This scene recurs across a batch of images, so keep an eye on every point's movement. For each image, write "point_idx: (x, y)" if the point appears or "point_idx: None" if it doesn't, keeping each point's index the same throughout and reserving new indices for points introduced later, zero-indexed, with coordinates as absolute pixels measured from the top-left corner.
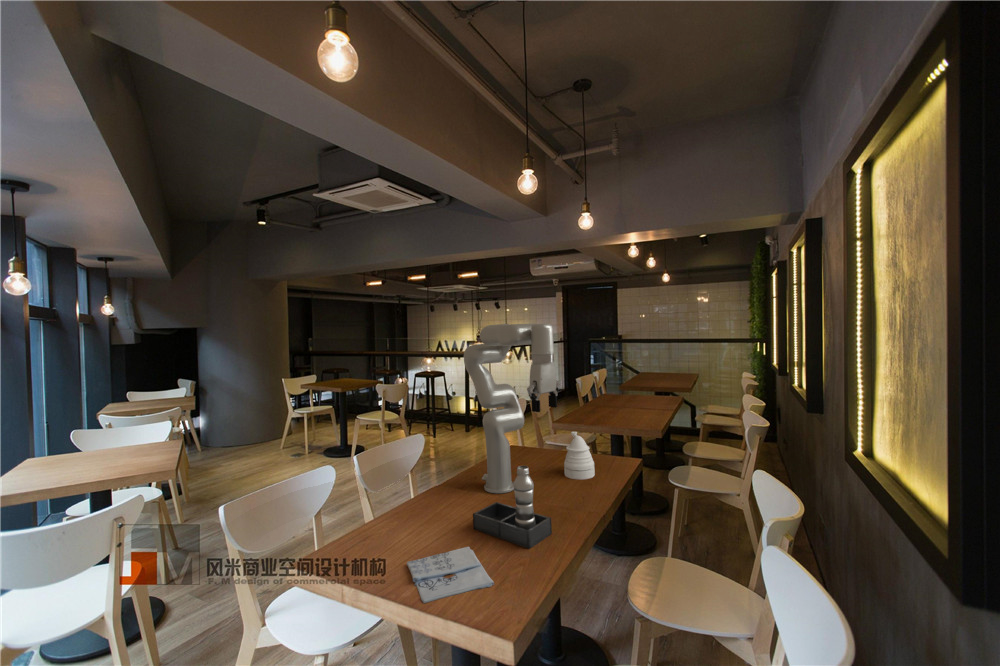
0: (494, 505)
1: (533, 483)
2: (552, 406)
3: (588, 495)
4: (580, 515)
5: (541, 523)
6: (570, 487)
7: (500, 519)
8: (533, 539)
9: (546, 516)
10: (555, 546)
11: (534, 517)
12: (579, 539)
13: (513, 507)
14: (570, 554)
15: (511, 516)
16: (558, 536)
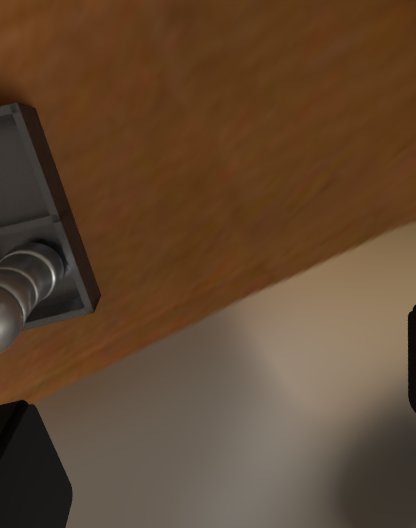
0: (1, 116)
1: (13, 341)
2: (412, 367)
3: (349, 184)
4: (228, 265)
5: (50, 322)
6: (370, 93)
7: (19, 153)
8: None
9: (89, 299)
10: (69, 342)
11: (47, 295)
12: (134, 349)
13: (44, 185)
14: (74, 381)
15: (2, 235)
16: (106, 313)
